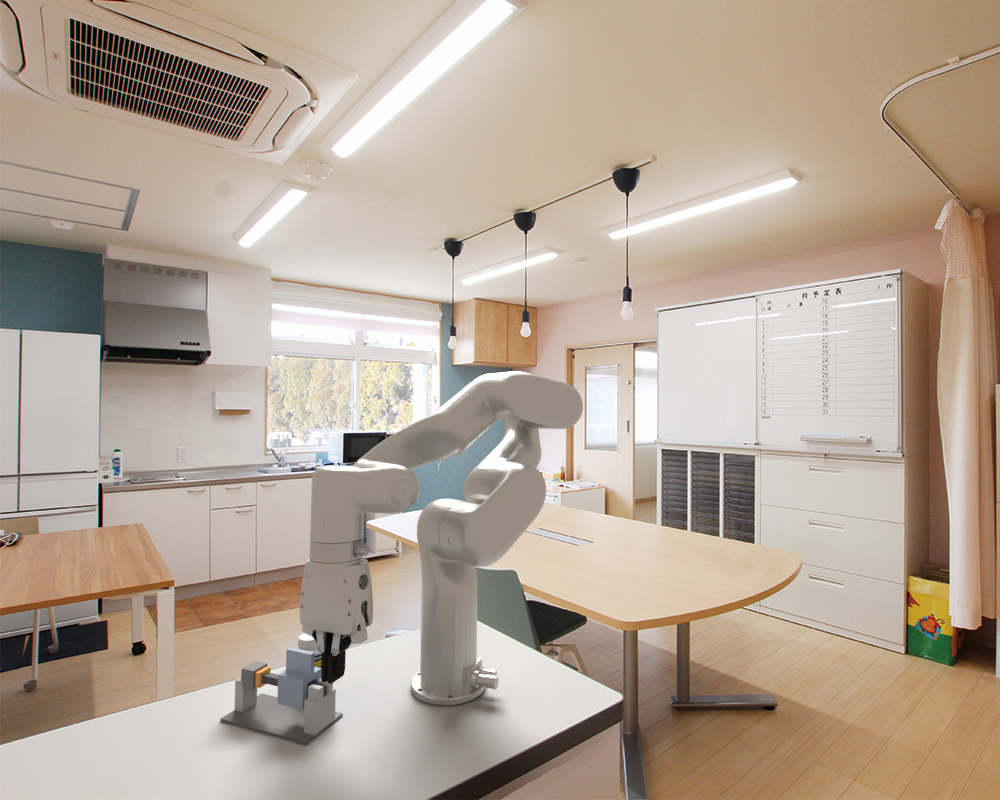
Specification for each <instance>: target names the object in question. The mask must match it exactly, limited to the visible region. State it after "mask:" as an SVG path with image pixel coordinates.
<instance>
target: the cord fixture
mask: <svg viewBox="0 0 1000 800" xmlns="http://www.w3.org/2000/svg"><path fill="white" fill-rule="evenodd" d="M278 674H279V673H272V672H271V666H268V663H267V662H263V661H259V660H255V661H253V662H251V663H248V664H247V665H245V666H244V667H242V668H241V676H240V677H239V678H237V679H235V680H234V681H235V682H234V684H235V685H234V709H233V710H232V711H230V712H229V713H228V714H226V715H224V716H223V717H220V719H219V721H220V722H221V723H223V724H224V723H225V724H229V725H231V726H235V727H240V728H242V729H246V730H249V731H253V732H257V733H261V734H265V735H267V736H271V737H274V738H278V739H282V740H285V741H289V742H293V743H296V744H300V745H304V746H308V745H309V744H310V743H311V742H313V741H314V740H315V739H317V737H319V736H320V735H321V734H323V732H325V731H326V730H327V729H328V728H330V727H331V726H332V725H334V723H336V722H337V721H338V720H339V719H341V718H342V717H343V716H344V714H343V713H342V712H339V711H336V691H337V690H336V688H334V685H333V684H334V682H333V683H332V684H330V683H328V682H322V681H321V679H319V680H318V684H317V683H313V682H310V683H308V693H307V694H308V698H307V699H306V700H304V709H303V710H302V709H298V708H294V707H290V706H286V705H282V704H278V703H277V699H278V696H275V695H274V696H273V695H271V694H265V693H262V692H261V693H260V694H258V689H261V688H262V687H264V686H265V685H269V686H270V685H271V686H274V687H278Z"/></svg>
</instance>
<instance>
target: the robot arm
mask: <svg viewBox="0 0 1000 800" xmlns="http://www.w3.org/2000/svg"><path fill="white" fill-rule="evenodd" d="M583 404H584V402H583V398H582V396H581V394H580V393H579V391H578V389H577V388H575V386H573V385H571V384H569V383H566V382H563V381H559V380H555V379H552V378H548V377H544V376H542V375H541V376H540V375H536V374H533V373H529V372H525V371H519V370H518V371H517V370H516V371H512V370H511V371H503V372H502V371H501V372H493V373H492V372H491V373H485V374H482V375H479V376H478V377H476V378H475V379H474V380H472V381H470V382H469V383H468V384H467V385H465V386H464V387H463V388H462V389H461V390H460V391H458V392H457V393H456V394H455V395H453V396H452V397H451V398H450V399H448V400H446V402H445V403H443V404H442V405H441V406H440V407H438V408H437V409H436V410H434V411H433V412H432V413H430V414H429V415H427V416H426V417H424V418H421V419H420V420H417V421H416V422H414V423H412V424H410V425H409V426H406V427H404V428H403V429H400V430H398V431H397V432H395V433H393V434H392V435H390V436H388V437H387V438H385V439H384V440H382V441H380V442H379V443H377V444H376V445H375V446H374V447H372V448H371V449H370V450H369V451H367V452H366V453H365V454H364V455H362V456H361V457H360V458H358V460H357V461H355V463H353V464H352V465H326V466H324V465H323V466H320V467H318V468H317V469H315V470H314V472H313V474H312V476H311V477H312V478H311V495H310V496H311V497H310V500H311V502H310V528H309V529H310V530H309V531H310V533H309V558H308V559H307V560H306V562H305V566H304V571H303V576H302V580H301V581H302V582H301V587H300V597H299V622H300V624H301V626H302V627H301V630H302V632H303V634H304V633H306V634H308V635H310V636H313V638H314V640H315V641H316V643H317V646H318V651H319V652H320V653H322V660H321V681H322V682H328V683H330V684H332V683H333V684H334V683H335V682H336V681H338V680H340V679H342V677H343V676H344V675H345V671H346V657H347V656H346V652H347V650H348V649H349V648H350V646H351V645H356V644H357V645H358V644H359V645H360V644H362V643H364V642H365V641H367V640H368V638H369V637H368V631H367V628H368V627H369V626H371V625H372V624H373V619H374V616H373V615H374V603H373V602H374V601H373V600H374V598H373V597H374V596H373V583H372V575H371V574H372V573H371V570H370V565H369V562H368V559H366V558H364V556H365V557H367V556H368V554H369V553H370V547H369V546H366V545H365V543H364V542H365V540H364V534H365V533H364V529H365V525H364V524H365V514H384V515H385V514H386V515H387V514H389V515H392V514H394V515H395V514H400V513H403V512H405V511H406V510H410V508H411V507H412V506H414V505H415V503H416V502H417V500H418V498H419V495H420V491H421V486H420V482H419V481H420V480H419V479H418V477H417V475H416V474H415V473H414V472H413V470H416V469H417V468H420V467H422V466H424V465H427V464H430V463H434V462H439V461H443V460H447V459H450V458H452V457H456V456H458V455H460V454H462V453H463V452H465V451H466V450H467V449H469V448H470V446H472V444H474V443H475V442H476V441H477V440H478V439H479V438H480V437H481V436H482V435H484V434H485V432H487V431H488V430H489V429H490V428H492V426H493V425H494V424H496V423H498V422H499V421H501V420H505V432H504V435H503V437H502V439H501V441H500V442H499V443H498V444H497V445H496V446H495V447H494V448H493V449H492V450H491V451H490V452H489V453H488V454H487V455H485V457H484V458H483V459H482V460H481V461H480V462H479V463H477V465H476V466H475V467H474V468H473V469H472V470H471V471H470V472H469V474H468V475H467V477H466V478H465V480H464V483H463V487H462V494H463V498H464V500H465V501H464V500H460V499H456V498H455V499H454V498H448V497H447V498H440V499H436V500H434V501H431V502H429V504H427V505H425V507H424V508H423V509H422V511H421V513H420V515H419V517H418V519H417V524H416V537H417V546H418V552H419V557H420V558H419V559H420V567H421V569H420V571H421V593H420V594H421V598H420V600H421V604H420V606H421V607H420V610H421V611H420V670H419V671H417V672H416V674H414V675H413V676H412V679H411V681H410V691H411V693H412V695H413V696H414V697H415V698H416V699H418V700H419V701H422V702H424V703H427V704H430V705H436V706H454V705H455V706H456V705H461V704H464V703H468V702H471V701H473V700H475V699H476V698H478V697H479V696H480V695H482V694H483V693H484V691H485V689H491V690H495V691H496V690H497V689H498V687H499V682H500V681H499V677H498V676H497V674H498V672H497V670H496V669H489V668H485V666H483V658H482V657H480V656H478V655H477V653H478V652H477V651H478V650H477V649H478V636H477V635H478V575H477V570H476V567H479V568H483V567H488V566H491V565H493V564H494V563H496V562H498V561H499V560H500V559H502V557H504V556H505V555H506V554H507V552H508V551H509V550H510V549H512V547H513V546H514V545H515V543H516V542H517V541H518V540H519V539H520V537H521V536H522V535H523V534H524V532H525V531H526V530H527V529H528V528H529V527H530V525H531V524H532V523H534V522H533V521H534V520H535V519H536V518H537V517H538V516H539V514H540V512H541V510H542V509H543V506H544V504H545V501H546V496H547V484H546V480H545V477H544V475H543V473H541V471H540V470H539V469H537V467H538V466H539V464H540V463H541V460H542V446H541V440H540V432H539V429H541V430H542V429H545V430H548V429H549V430H555V429H557V430H565V429H569V428H572V427H573V426H574V425H576V424H577V423H578V422H579V421H580V419H581V417H582V415H583V410H584V405H583Z"/></svg>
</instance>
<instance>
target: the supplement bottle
mask: <svg viewBox="0 0 1000 800" xmlns="http://www.w3.org/2000/svg"><path fill="white" fill-rule="evenodd" d="M297 646H298V647H297V648H296V649H301V650H306V651H311V652H315V665H314V667H318V668H321V660H322V653H320V652H319V651H318V646H317V643H316V641H315V640H314V638H313V636H310V635H308V634H306V633H304V632H303V633H301V634H300V635H299V636H298V637H297Z"/></svg>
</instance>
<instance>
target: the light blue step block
mask: <svg viewBox="0 0 1000 800" xmlns="http://www.w3.org/2000/svg"><path fill="white" fill-rule="evenodd" d="M285 653H286V655H285V659H286V660H285V670H283V671H282V672H280V673H277V674H278V686H277V697H278V699H277V703H278V704H282V705H286V706H290V707H294V708H298V709H302V710H303V709H304V700H306V699H307V698H308V694H307V693H308V683H310V682H313V683H317V684H318V680H319V679H321V668H318V667H314V665H315V652H311V651H306V650H301V649H297V648H296V647H288V648H287V649H286V652H285Z"/></svg>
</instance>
